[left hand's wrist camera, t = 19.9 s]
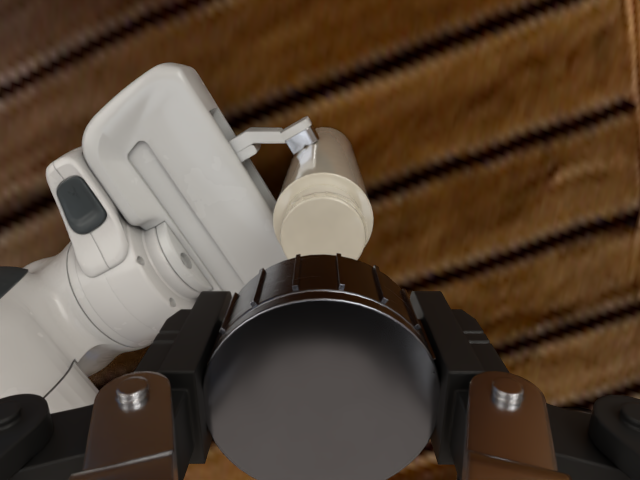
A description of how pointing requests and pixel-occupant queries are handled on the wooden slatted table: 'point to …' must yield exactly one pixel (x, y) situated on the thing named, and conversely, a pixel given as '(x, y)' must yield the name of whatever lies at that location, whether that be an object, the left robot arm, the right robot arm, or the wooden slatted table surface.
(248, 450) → the lid
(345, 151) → the beige tall cylinder
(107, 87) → the wooden slatted table surface
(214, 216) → the right robot arm
